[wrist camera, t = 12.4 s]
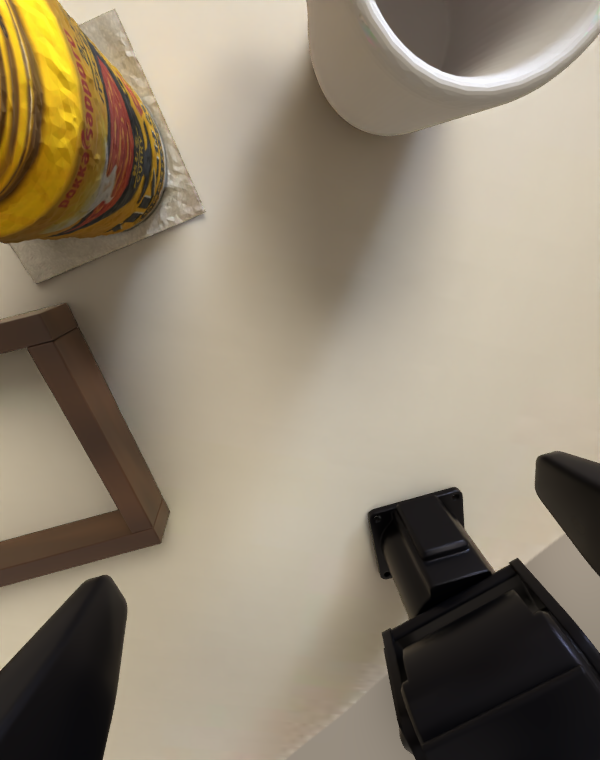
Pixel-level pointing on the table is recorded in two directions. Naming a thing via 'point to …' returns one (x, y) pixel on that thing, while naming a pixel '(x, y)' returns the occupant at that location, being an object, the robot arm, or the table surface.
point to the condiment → (80, 142)
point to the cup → (440, 55)
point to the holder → (100, 441)
